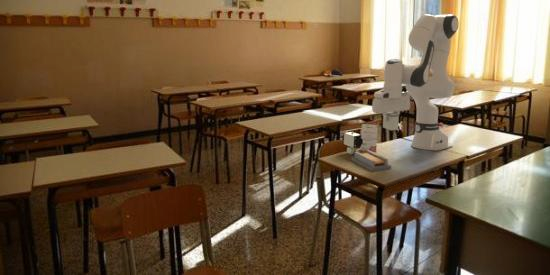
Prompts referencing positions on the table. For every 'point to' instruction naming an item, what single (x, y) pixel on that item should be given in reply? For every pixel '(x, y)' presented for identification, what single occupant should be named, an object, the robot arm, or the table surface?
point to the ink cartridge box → (369, 137)
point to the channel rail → (370, 161)
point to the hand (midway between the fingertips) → (390, 120)
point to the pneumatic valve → (352, 141)
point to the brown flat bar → (373, 158)
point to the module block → (391, 121)
